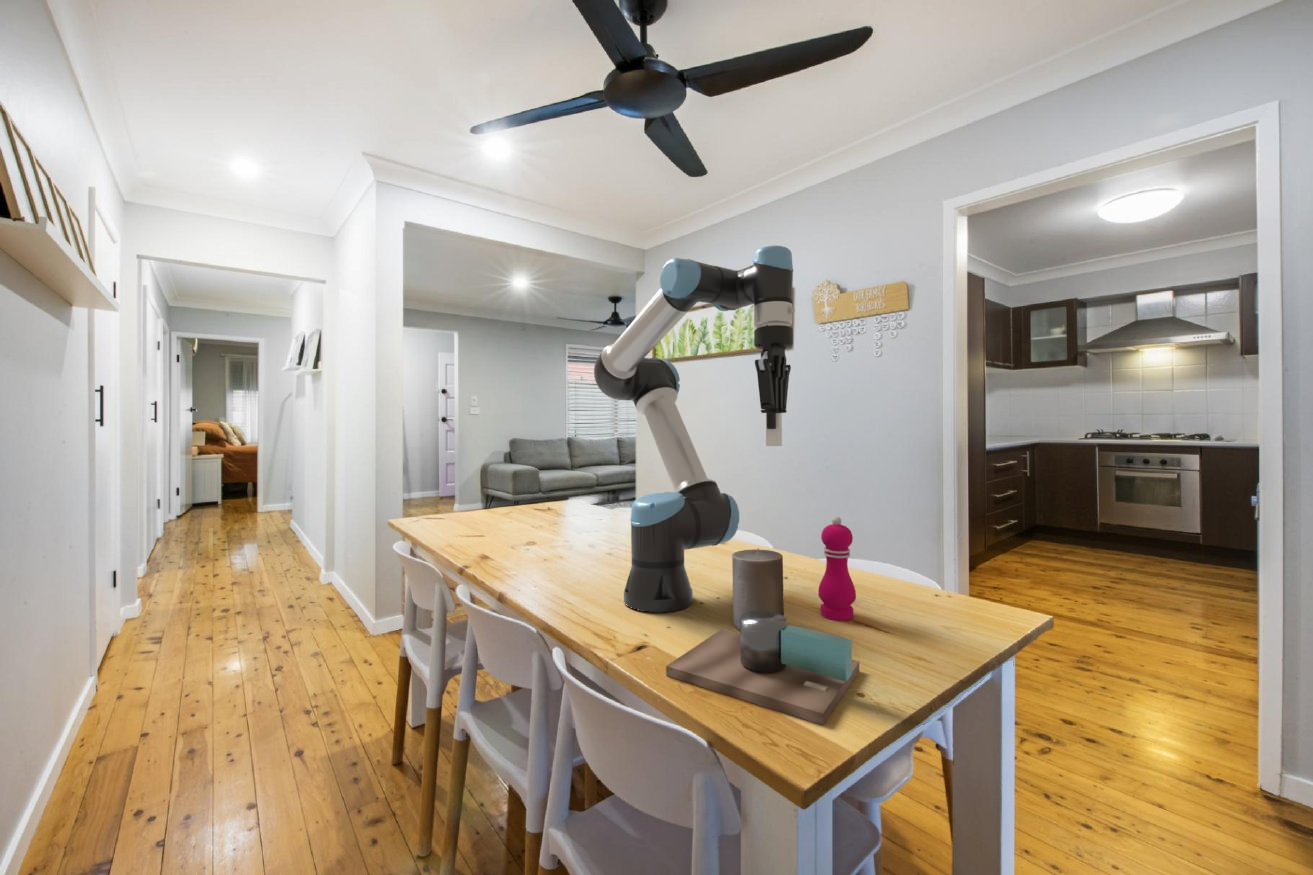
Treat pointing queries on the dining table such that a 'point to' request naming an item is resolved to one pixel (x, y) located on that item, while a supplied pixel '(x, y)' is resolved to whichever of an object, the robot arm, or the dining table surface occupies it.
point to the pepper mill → (837, 573)
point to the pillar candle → (757, 582)
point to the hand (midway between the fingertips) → (773, 445)
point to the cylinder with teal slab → (791, 647)
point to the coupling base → (759, 679)
